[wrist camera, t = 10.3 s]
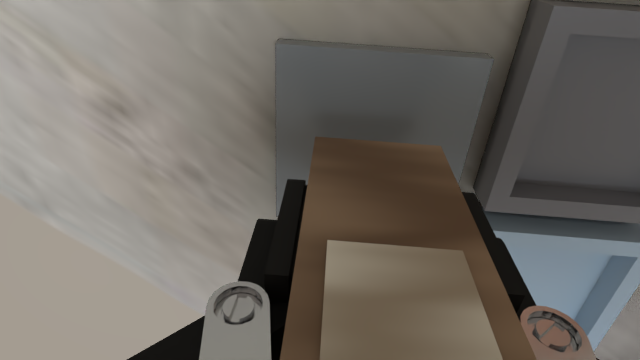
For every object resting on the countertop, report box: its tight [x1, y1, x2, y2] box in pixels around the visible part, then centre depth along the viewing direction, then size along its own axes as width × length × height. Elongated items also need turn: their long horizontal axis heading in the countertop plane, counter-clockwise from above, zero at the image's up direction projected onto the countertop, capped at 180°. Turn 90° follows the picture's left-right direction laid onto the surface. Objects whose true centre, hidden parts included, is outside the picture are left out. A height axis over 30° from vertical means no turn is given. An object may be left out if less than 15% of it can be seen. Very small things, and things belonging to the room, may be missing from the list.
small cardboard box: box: [280, 137, 537, 360], centre depth 10 cm, size 4×4×9 cm
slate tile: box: [275, 39, 494, 217], centre depth 17 cm, size 8×8×1 cm
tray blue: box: [482, 207, 640, 352], centre depth 20 cm, size 8×8×2 cm
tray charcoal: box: [473, 0, 640, 224], centre depth 15 cm, size 8×8×2 cm
